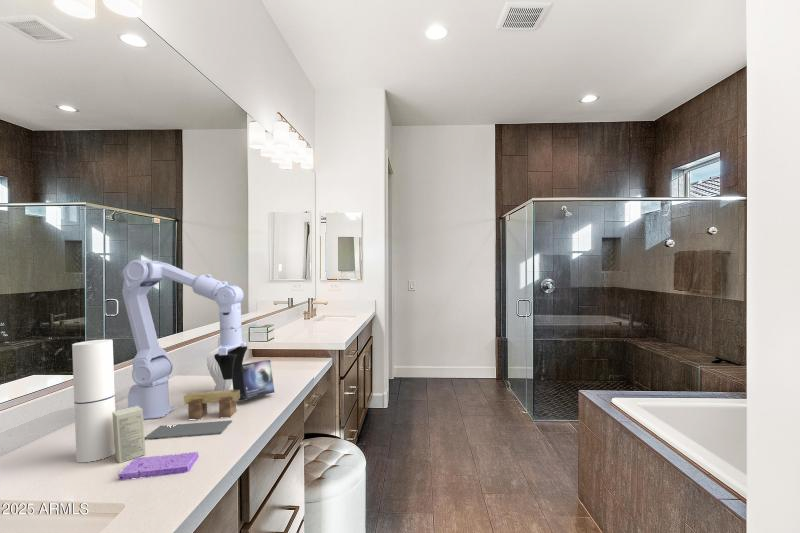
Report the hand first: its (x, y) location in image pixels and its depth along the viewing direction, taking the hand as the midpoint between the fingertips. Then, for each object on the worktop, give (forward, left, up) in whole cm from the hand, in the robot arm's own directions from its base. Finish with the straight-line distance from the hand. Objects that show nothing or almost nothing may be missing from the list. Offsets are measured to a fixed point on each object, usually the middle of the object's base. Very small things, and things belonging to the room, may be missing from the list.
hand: (232, 375), depth 114 cm
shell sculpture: (-10, +21, -10) cm, 26 cm away
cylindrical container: (-22, -24, -10) cm, 34 cm away
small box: (+3, +10, -9) cm, 14 cm away
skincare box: (-14, -26, -10) cm, 31 cm away
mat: (-7, -13, -10) cm, 17 cm away
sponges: (-4, -33, -11) cm, 34 cm away
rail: (-5, -3, -6) cm, 8 cm away
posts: (-5, -3, -10) cm, 11 cm away
